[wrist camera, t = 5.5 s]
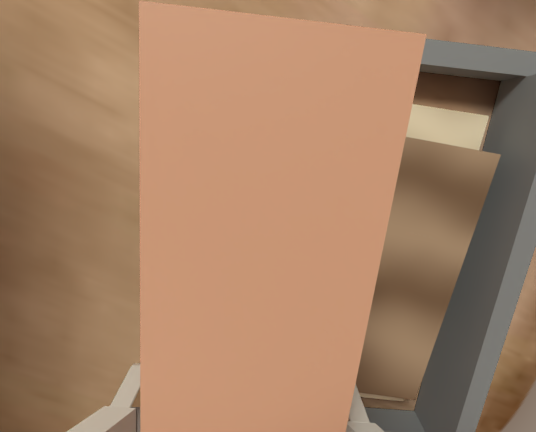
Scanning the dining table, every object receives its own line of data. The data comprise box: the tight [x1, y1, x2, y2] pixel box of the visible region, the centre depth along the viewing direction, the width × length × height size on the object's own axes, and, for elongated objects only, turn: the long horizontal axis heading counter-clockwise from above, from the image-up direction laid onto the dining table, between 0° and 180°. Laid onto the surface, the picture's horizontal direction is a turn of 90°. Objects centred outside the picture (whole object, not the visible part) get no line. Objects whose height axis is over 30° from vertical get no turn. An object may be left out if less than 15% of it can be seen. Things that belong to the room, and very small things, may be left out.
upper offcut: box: [356, 137, 501, 400], centre depth 21 cm, size 16×6×2 cm, turn 170°
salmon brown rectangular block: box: [139, 1, 427, 432], centre depth 12 cm, size 18×4×12 cm, turn 174°
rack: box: [365, 39, 536, 432], centre depth 20 cm, size 26×19×4 cm
